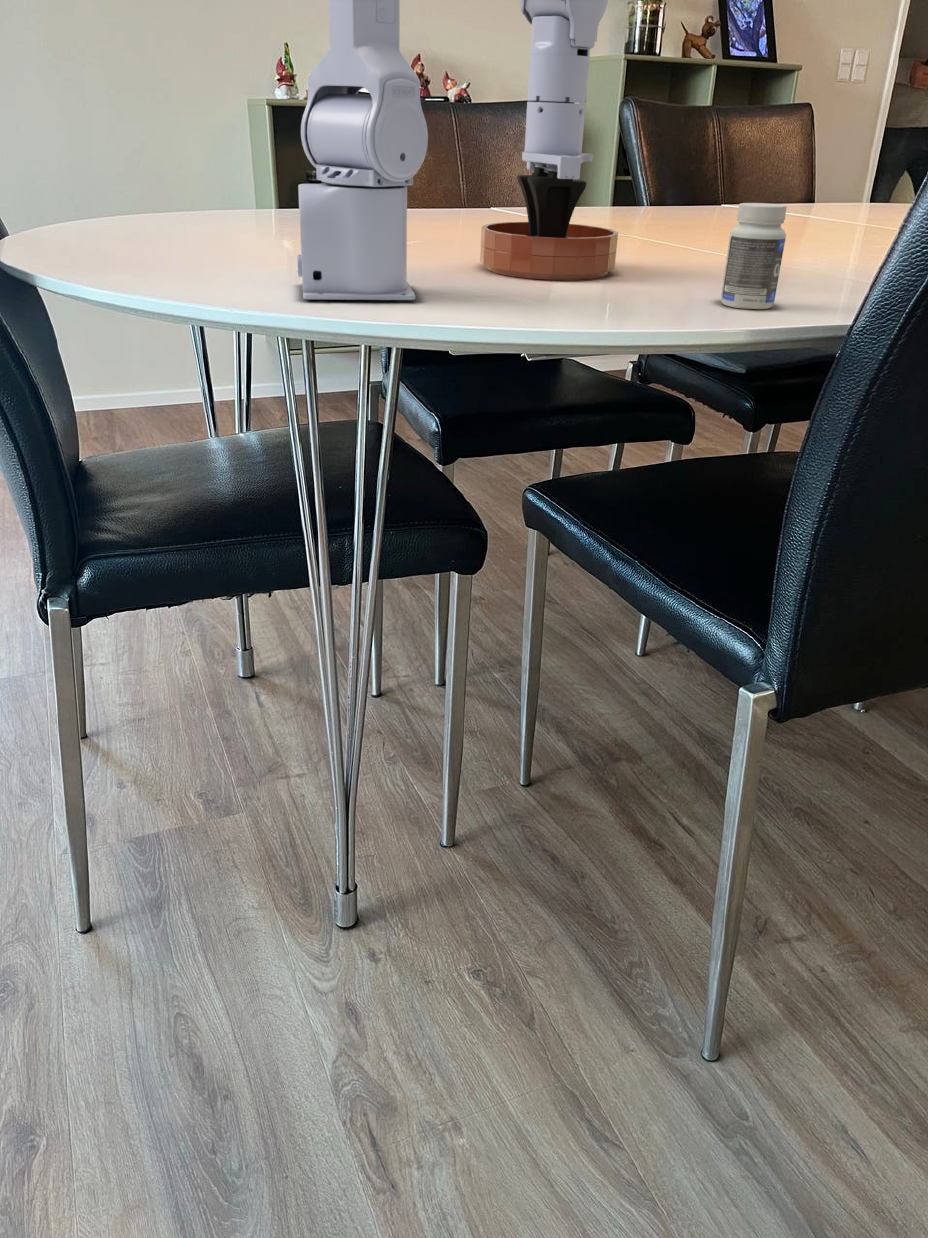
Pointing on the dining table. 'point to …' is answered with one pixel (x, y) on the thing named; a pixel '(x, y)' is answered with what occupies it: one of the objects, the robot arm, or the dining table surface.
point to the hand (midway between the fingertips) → (546, 250)
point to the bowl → (548, 252)
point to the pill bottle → (754, 256)
